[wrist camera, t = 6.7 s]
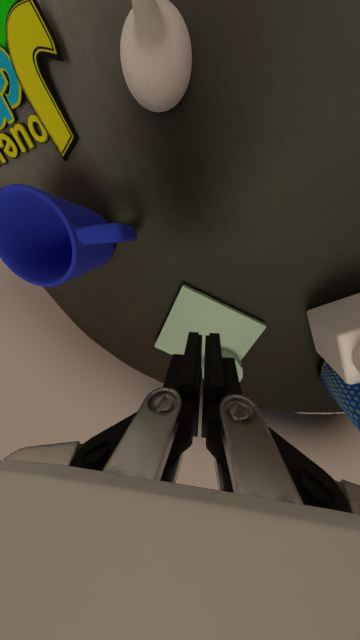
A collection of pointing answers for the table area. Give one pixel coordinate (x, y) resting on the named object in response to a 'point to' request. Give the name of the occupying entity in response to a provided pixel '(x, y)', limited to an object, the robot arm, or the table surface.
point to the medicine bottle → (338, 336)
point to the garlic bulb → (156, 54)
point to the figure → (4, 20)
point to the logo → (31, 82)
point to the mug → (53, 236)
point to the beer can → (342, 393)
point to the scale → (208, 326)
